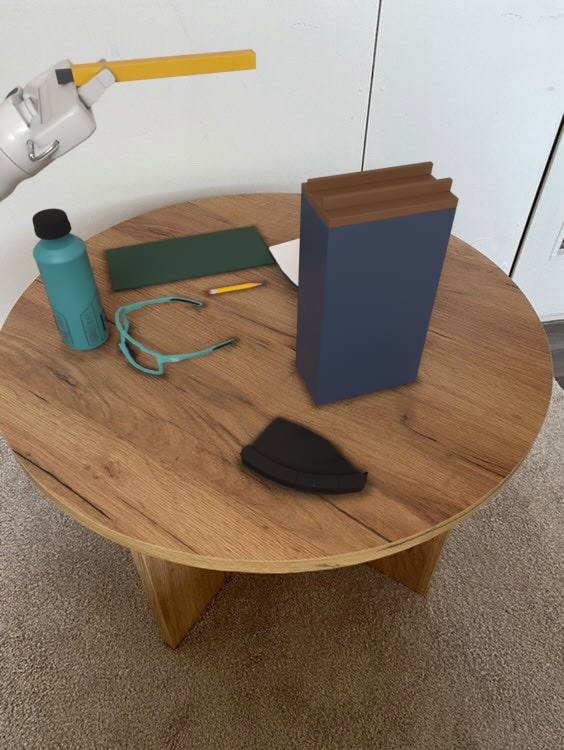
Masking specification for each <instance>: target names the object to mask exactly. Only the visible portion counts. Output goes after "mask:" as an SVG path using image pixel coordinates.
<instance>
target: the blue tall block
mask: <svg viewBox="0 0 564 750" xmlns="http://www.w3.org/2000/svg"><path fill="white" fill-rule="evenodd" d="M433 167H434V162H432V160H429V161H423V162H415V163H408V164H401V165H397V166H396V165H395V166H388V167H380V168H375V169H368V170H362V171H355V172H347V173H340V174H333V175H327V176H319V177H313V178H307V179H306V180H307V181H306V182H301V184H300V214H299V238H300V242H299V273H298V288H297V303H296V306H297V307H296V308H297V309H296V335H295V336H296V337H295V339H296V340H295V367H296V368H297V371H298V373H299V375H300V377H301V379H302V380H303V382H304V385H305V386H306V389H307V390H308V392H309V395H310V396H311V398H312V400H313V402H314V404H315V406H321V405H325V404H329V403H333V402H338V401H341V400H346V399H350V398H354V397H359V396H362V395H363V396H364V395H366V394H371V393H375V392H379V391H384V390H387V389H392V388H395V387H399V386H404V385H408V384H412V383H416V381H417V377H418V373H419V369H420V364H421V360H422V357H423V356H422V355H423V352H424V349H425V343H426V339H427V336H428V335H427V334H428V331H429V327H430V322H431V318H432V314H433V309H434V305H435V301H436V297H437V293H438V288H439V285H440V280H441V277H442V272H443V268H444V265H445V264H444V263H445V260H446V255H447V250H448V247H449V243H450V238H451V234H452V229H453V226H454V222H455V216H456V213H457V210H458V209H457V208H458V203H459V201H460V199H459V197H458V196H456V194H454V193H453V192H452V191H451V190H452V186H453V182H454V181H453V178H452V177H443V178H436V177H435V176H434V175H433V174H432V172H433V169H434V168H433Z"/></svg>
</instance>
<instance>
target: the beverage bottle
mask: <svg viewBox="0 0 564 750" xmlns="http://www.w3.org/2000/svg"><path fill="white" fill-rule="evenodd" d="M31 220H32V226H33V232H34V234H35V237H37V238H38V239H39V240H38V241H37V242H36V244H35V245H34V247H33V249H32V256H33V259H34V260H35V263H36V267H37V269H38V272H39V275H40V278H41V281H42V284H43V286H44V291H45V293H46V296H47V297H46V299H47V301H48V303H49V306H50V309H51V311H52V316H53V319H54V322H55V326H56V328H57V331H58V332H59V335H60V337H61V340H62V342H63V343H64V344H65V345H66V346H67V347H68V348H69V349H71V350H75V351H89V350H93V349H96V348H99V346H101V345H102V344H104V343H105V342H106V341H107V340H108V338H109V333H110V330H111V329H110V326H109V324H108V323H109V321H108V317H107V314H106V309H105V308H104V305H103V300H102V295H101V292H100V289H99V287H98V283H97V280H96V276H95V272H94V270H93V267H92V265H91V261H90V257H89V254H88V251H87V245H86V242H85V241H84V239H83V238H81V237H80V236H78V235H76V234H74V233H71V232H72V225H71V222H70V220H69V217H68V214H67V213H66V211H65V210H63V209H61V208H45V209H42V210H39V211H38V212H36V213H35V214H33V216H32V219H31Z"/></svg>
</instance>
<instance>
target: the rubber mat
mask: <svg viewBox="0 0 564 750" xmlns="http://www.w3.org/2000/svg"><path fill="white" fill-rule="evenodd" d="M105 252H106V257H107V258H106V259H107V262H108V268H109V272H110V277H111V282H112V287H113V291H114V292H116V293H117V292H121V291H126V290H133V289H137V288H138V289H139V288H144V287H149V286H153V285H154V286H155V285H161V284H166V283H171V282H172V283H173V282H176V281H177V282H178V281H182V280H188V279H194V278H199V277H205V276H210V275H211V276H212V275H216V274H222V273H227V272H228V273H229V272H233V271H234V272H235V271H240V270H244V269H250V268H255V267H261V266H267V265H273V264H274V263H275V260H274V258H273V257H272V255H271V253H270V252H269V249H267V246H266V245H265V243H264V241H263V240H262V237H261V236H260V234H259V232H258V231H257V229H256V227H255V226H254V225H250V226H243V227H238V228H233V229H226V230H219V231H214V232H207V233H201V234H195V235H189V236H182V237H176V238H170V239H164V240H157V241H152V242H145V243H139V244H133V245H127V246H126V245H125V246H121V247H115V248H108V249H105Z"/></svg>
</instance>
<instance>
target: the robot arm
mask: <svg viewBox="0 0 564 750" xmlns="http://www.w3.org/2000/svg"><path fill="white" fill-rule="evenodd" d="M97 62H108V61H107V59H106V58H104V57H101V58H100V59H98V60H97V61H96V62H95V63H97ZM71 65H74V63H73V62H72V61H71V60H70V59H69V58H65V59H62V60H60V61H58V62H55V64H52V65H51V66H50V67H48V68H47V69H46V70H44V71H42V72H41V73H40V74H38V75H36V76H35V77H33V78H32V79H31V80H30V81H29V82H27V83H26V85H24V87H22V86H21V85H16V86H15V87H13V88H12V89H10V91H9V92H8V93H7V95H6V97H5V98H4V100H3V101H2V102H0V203H1V202H3V201H4V200H6V199H7V198H8V197H9V196H11V195H12V194H13V193H14V191H15V190H16V189H17V187H18V186H19V185H20V184H21V183H23V182H24V181H27V180H29V179H31V178H33V177H35V176H37V175H38V174H39V173H41V172H42V171H43V170H44V169H46V167H48V166H50V165H51V164H52V163H54V161H56V160H57V159H59V158H61V157H63V156H64V155H66V154H67V153H69V152H70V151H72V150H73V149H75V148H76V147H78V146H79V145H81V144H82V143H84V142H85V141H86V140H88V139H89V138H90V137H91V136H92V135H93V134H94V133H95V131H96V130H97V122H96V118H95V116H94V110H93V107H92V106H93V105H94V104H96V103H97V102H98V101H99V99H100V98H101V97H102V95H103V94H104V93H105V92H106V91H107V89H108V88H110V87H111V86H112V85H113V84H115V83H116V82H115V77H114V74H113V73H112V72H111V70H110V69H109V68H108V67H107V66H104V67H102V68H101V69H100V70H99V71H97V72H96V73H95V74H96V75H95V76H94V77H93V78H92V79H91V80H90V81H89V82H87V83H86V84H83V85H82V86H76V85H75V83H74V82H70V83H68V84H58V81H57V77H56V73H55V69H66V68H71Z"/></svg>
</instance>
